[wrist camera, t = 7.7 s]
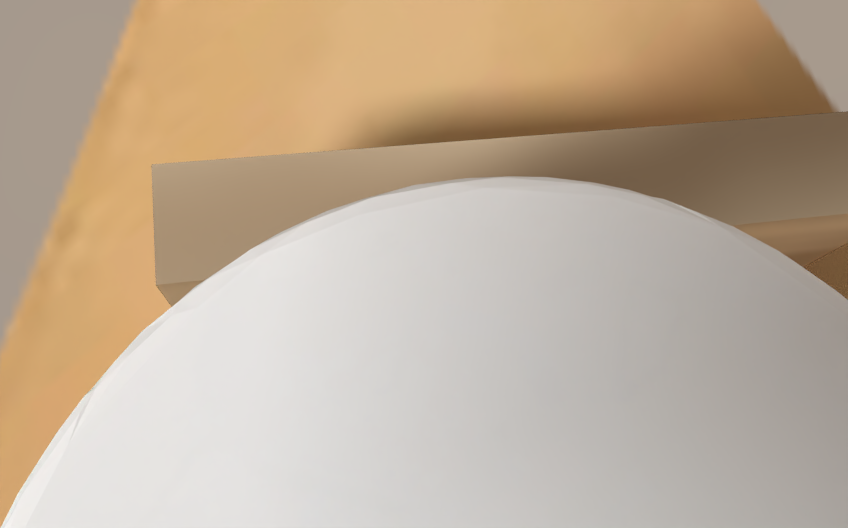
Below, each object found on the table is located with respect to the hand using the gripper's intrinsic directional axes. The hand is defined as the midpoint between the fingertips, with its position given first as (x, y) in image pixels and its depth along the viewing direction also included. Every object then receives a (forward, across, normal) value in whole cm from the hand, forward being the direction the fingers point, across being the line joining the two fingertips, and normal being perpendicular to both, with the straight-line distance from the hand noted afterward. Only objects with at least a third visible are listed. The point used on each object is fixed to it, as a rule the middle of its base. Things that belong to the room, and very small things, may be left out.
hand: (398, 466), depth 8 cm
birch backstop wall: (+8, -4, +2) cm, 10 cm away
